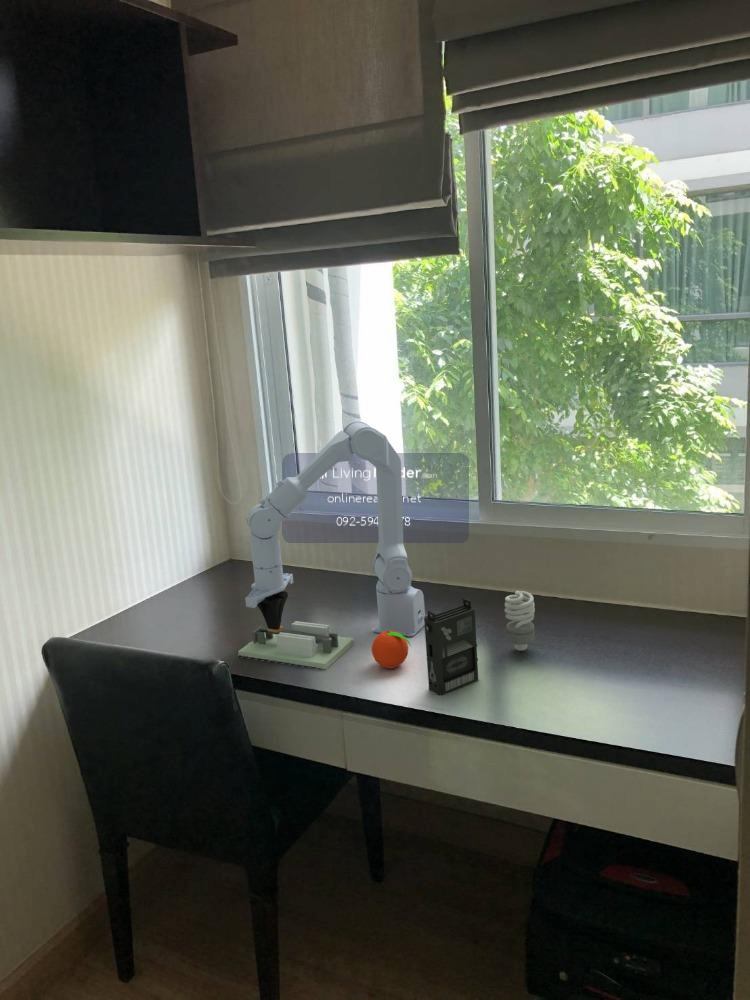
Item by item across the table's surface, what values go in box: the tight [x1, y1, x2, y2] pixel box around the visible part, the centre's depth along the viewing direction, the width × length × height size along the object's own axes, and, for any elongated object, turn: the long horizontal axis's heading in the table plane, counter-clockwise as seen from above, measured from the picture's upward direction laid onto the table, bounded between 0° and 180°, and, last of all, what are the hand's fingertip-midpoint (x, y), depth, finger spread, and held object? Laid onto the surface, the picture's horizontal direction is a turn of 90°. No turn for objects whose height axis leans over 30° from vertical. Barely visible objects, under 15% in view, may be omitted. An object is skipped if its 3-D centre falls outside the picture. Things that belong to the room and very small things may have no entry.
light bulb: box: [504, 590, 536, 652], centre depth 153 cm, size 6×6×12 cm
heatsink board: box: [237, 620, 355, 670], centre depth 162 cm, size 20×12×5 cm, turn 64°
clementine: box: [371, 631, 412, 669], centre depth 151 cm, size 8×7×7 cm
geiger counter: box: [424, 597, 479, 697], centre depth 142 cm, size 10×4×15 cm, turn 123°
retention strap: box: [258, 625, 334, 642], centre depth 161 cm, size 16×2×1 cm, turn 65°
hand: (274, 628), depth 163 cm, fingers closed, pressing on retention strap
